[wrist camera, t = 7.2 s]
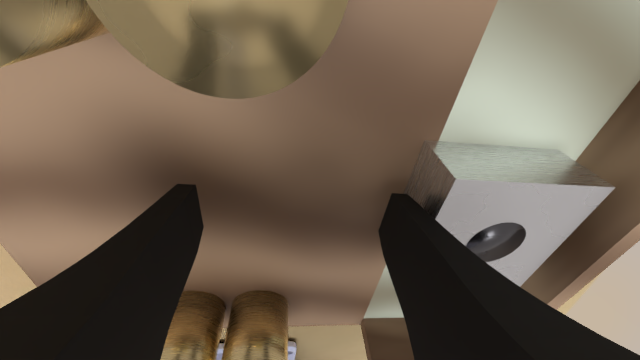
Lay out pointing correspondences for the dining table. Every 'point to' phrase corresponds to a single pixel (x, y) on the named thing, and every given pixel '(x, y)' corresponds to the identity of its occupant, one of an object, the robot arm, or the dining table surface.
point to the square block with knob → (505, 200)
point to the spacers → (205, 78)
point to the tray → (325, 149)
